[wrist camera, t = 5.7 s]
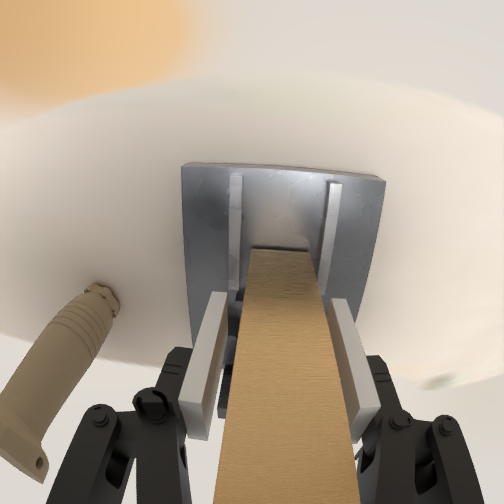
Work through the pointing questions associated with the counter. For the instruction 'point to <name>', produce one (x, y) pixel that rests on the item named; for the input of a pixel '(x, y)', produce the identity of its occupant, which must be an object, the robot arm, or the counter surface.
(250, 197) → the slotted metal plate
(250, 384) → the lever
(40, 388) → the handle
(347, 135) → the counter surface
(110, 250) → the counter surface
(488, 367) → the counter surface
